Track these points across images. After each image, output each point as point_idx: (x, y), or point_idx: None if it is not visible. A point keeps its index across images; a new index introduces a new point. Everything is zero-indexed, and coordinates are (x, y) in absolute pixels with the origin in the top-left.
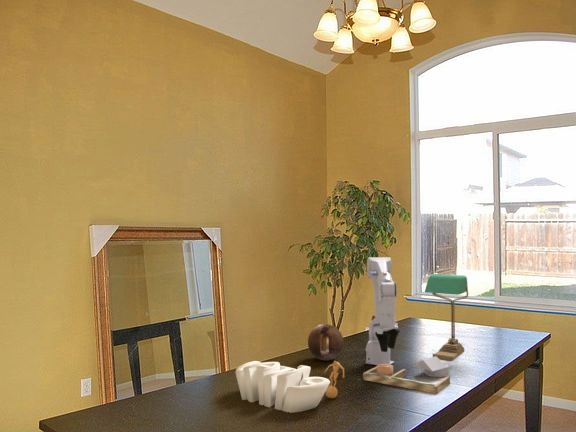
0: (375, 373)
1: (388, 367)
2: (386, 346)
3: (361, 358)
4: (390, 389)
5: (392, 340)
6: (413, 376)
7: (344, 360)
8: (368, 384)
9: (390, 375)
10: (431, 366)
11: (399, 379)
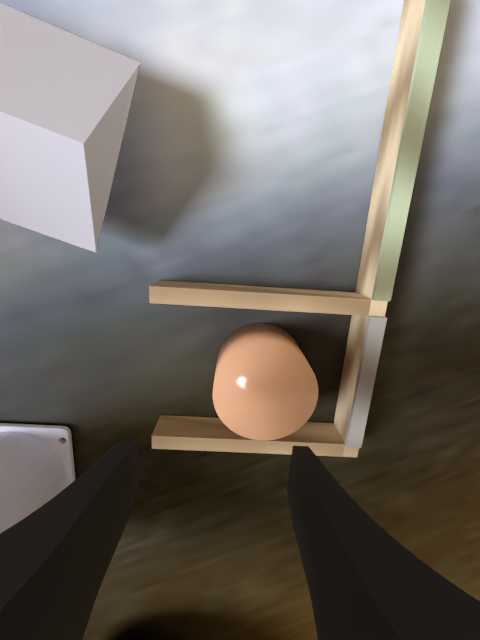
0: None
1: (291, 363)
2: (338, 486)
3: None
4: (447, 267)
5: (99, 521)
6: (149, 237)
7: None
8: (407, 388)
9: (283, 334)
10: (88, 75)
11: (399, 243)
